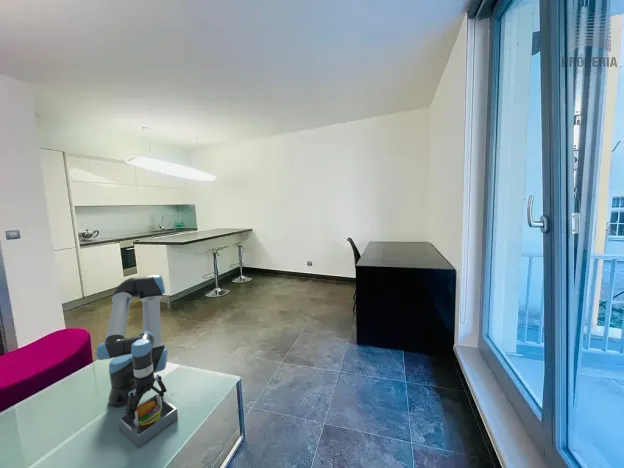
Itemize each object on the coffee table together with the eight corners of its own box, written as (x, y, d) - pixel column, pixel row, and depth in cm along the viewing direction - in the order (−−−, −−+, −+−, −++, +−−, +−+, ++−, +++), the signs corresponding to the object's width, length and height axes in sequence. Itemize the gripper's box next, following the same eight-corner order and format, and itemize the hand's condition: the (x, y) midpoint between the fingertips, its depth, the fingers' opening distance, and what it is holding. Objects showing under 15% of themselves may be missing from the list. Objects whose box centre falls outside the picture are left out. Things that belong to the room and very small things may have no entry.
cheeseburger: (151, 432, 118) (143, 412, 117) (132, 432, 121) (125, 413, 120) (167, 413, 128) (161, 395, 127) (150, 414, 131) (143, 396, 129)
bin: (119, 430, 122) (118, 418, 121) (158, 404, 137) (156, 394, 136) (139, 449, 113) (137, 437, 112) (178, 419, 128) (177, 408, 127)
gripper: (120, 392, 109) (125, 438, 113) (172, 362, 128) (176, 402, 132) (111, 385, 113) (117, 430, 116) (163, 357, 132) (167, 396, 136)
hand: (148, 415), depth 124 cm, fingers closed on cheeseburger, 10 cm apart
